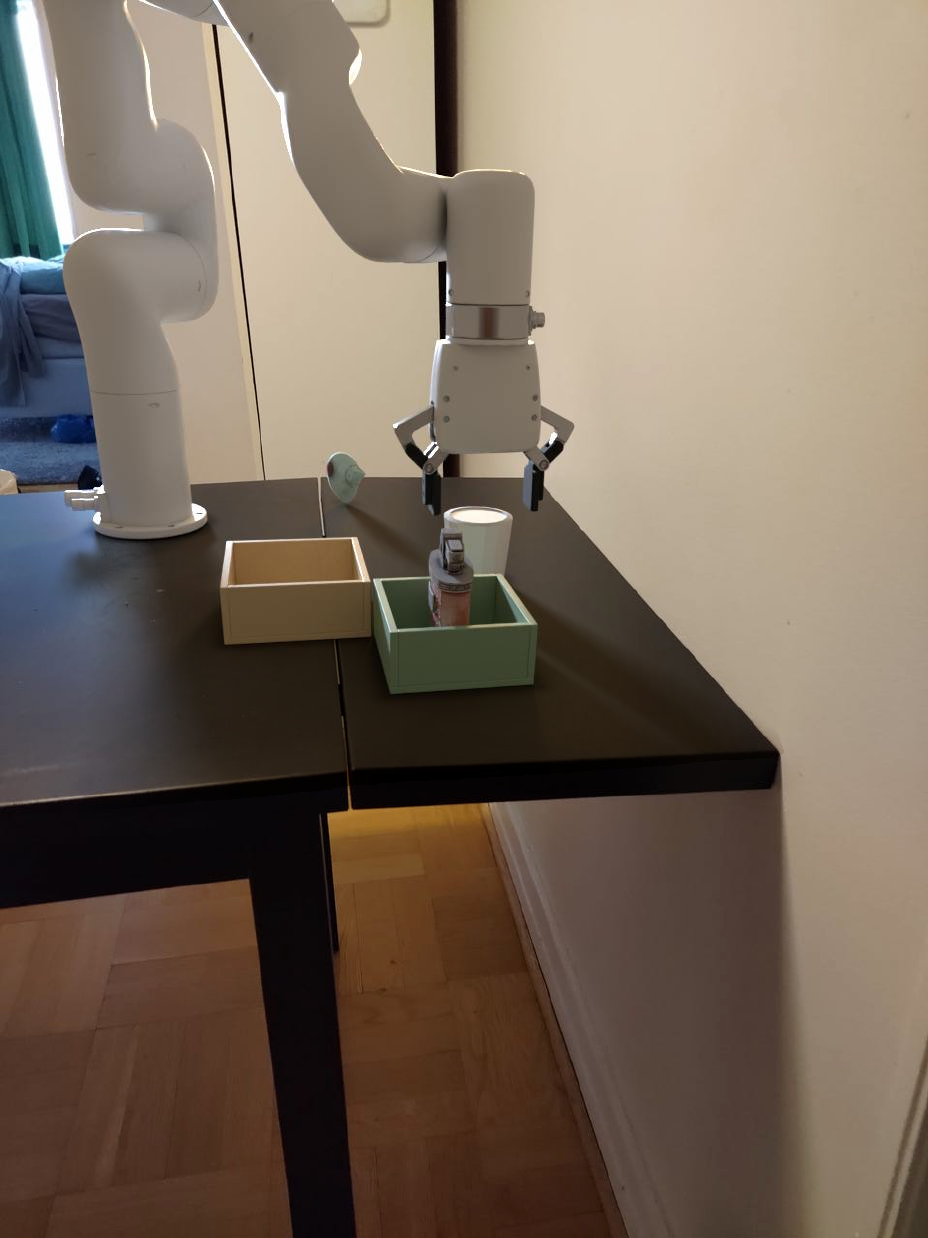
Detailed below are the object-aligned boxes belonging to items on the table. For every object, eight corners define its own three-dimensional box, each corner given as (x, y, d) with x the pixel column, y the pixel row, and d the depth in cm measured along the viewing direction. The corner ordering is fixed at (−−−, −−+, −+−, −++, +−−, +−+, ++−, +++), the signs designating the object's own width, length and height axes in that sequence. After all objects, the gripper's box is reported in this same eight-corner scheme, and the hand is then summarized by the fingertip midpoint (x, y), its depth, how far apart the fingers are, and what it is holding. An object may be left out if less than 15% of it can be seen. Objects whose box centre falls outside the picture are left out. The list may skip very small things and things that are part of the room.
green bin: (390, 694, 64) (390, 632, 62) (373, 633, 74) (373, 578, 72) (533, 684, 66) (538, 624, 64) (498, 626, 76) (501, 573, 74)
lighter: (423, 631, 73) (425, 518, 69) (462, 630, 74) (466, 518, 70) (432, 673, 66) (435, 551, 62) (476, 672, 66) (481, 550, 62)
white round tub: (503, 596, 83) (507, 527, 80) (434, 589, 84) (436, 521, 81) (513, 573, 89) (517, 508, 86) (449, 566, 90) (451, 502, 87)
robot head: (371, 509, 109) (370, 457, 106) (341, 513, 107) (340, 460, 104) (345, 494, 115) (344, 444, 112) (317, 497, 113) (315, 447, 110)
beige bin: (224, 645, 71) (219, 587, 69) (230, 591, 82) (226, 540, 80) (371, 637, 73) (370, 581, 71) (358, 586, 84) (357, 536, 82)
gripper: (566, 322, 82) (555, 497, 88) (386, 322, 78) (390, 503, 85) (592, 328, 75) (579, 517, 81) (397, 328, 71) (400, 524, 78)
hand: (482, 509), depth 83 cm, fingers open, 9 cm apart
